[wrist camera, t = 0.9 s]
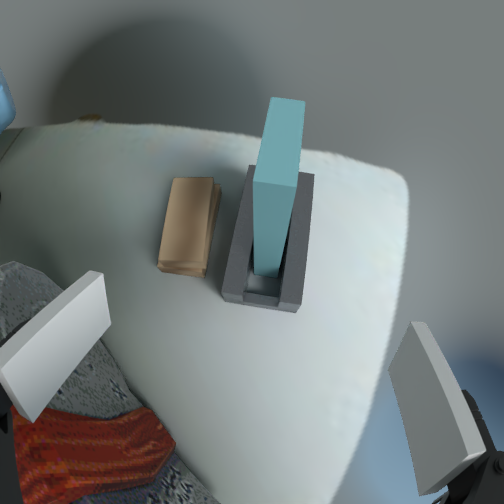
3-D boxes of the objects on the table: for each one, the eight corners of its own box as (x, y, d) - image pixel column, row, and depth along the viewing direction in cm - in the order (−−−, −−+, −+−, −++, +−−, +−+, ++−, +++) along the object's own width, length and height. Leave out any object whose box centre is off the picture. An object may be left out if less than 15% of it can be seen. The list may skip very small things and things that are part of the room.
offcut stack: (162, 272, 33) (150, 258, 29) (183, 191, 37) (175, 170, 33) (208, 279, 32) (202, 265, 28) (225, 194, 36) (221, 173, 32)
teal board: (254, 274, 32) (252, 181, 16) (265, 211, 35) (271, 96, 19) (277, 278, 32) (296, 187, 16) (286, 214, 35) (305, 101, 19)
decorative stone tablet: (197, 616, 4) (-15, 215, 16) (117, 623, 3) (-54, 261, 14) (238, 505, 22) (92, 296, 33) (192, 528, 20) (59, 324, 32)
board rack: (225, 301, 31) (221, 292, 27) (249, 184, 37) (249, 164, 33) (295, 312, 31) (301, 304, 27) (309, 193, 36) (314, 174, 32)
